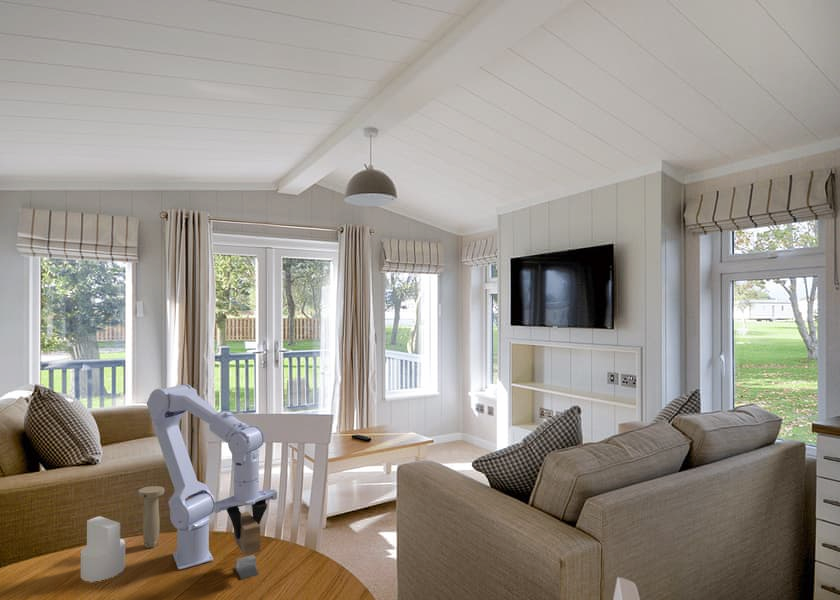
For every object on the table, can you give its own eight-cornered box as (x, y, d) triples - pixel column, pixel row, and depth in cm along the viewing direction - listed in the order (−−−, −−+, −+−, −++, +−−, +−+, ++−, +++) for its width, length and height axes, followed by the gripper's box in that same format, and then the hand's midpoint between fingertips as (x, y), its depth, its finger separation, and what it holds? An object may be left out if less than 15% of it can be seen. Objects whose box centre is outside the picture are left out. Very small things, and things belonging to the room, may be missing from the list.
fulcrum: (234, 568, 120) (234, 555, 120) (251, 563, 122) (251, 551, 122) (241, 579, 115) (241, 566, 115) (258, 574, 117) (258, 561, 117)
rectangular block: (233, 539, 122) (233, 514, 122) (248, 535, 124) (248, 511, 124) (244, 556, 114) (244, 529, 114) (259, 551, 116) (259, 526, 116)
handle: (155, 551, 129) (155, 493, 129) (133, 549, 130) (134, 492, 130) (168, 542, 133) (168, 486, 134) (146, 540, 134) (146, 485, 135)
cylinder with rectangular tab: (72, 576, 117) (72, 525, 117) (111, 559, 125) (111, 511, 125) (94, 586, 113) (94, 533, 113) (133, 567, 121) (133, 518, 121)
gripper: (218, 489, 112) (218, 550, 111) (281, 477, 120) (281, 533, 120) (211, 480, 117) (211, 538, 117) (272, 469, 126) (272, 522, 125)
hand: (246, 534), depth 119 cm, fingers closed on rectangular block, 3 cm apart
